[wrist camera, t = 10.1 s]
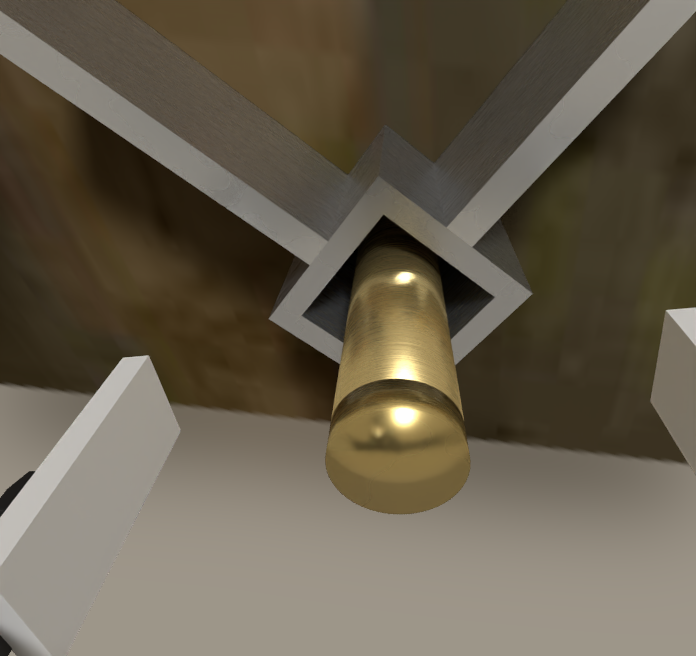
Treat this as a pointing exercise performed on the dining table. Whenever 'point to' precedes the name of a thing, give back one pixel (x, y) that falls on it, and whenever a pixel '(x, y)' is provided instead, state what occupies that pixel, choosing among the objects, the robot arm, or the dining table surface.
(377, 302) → the hinge pin
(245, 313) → the dining table surface
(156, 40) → the hinge leaves
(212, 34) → the dining table surface
